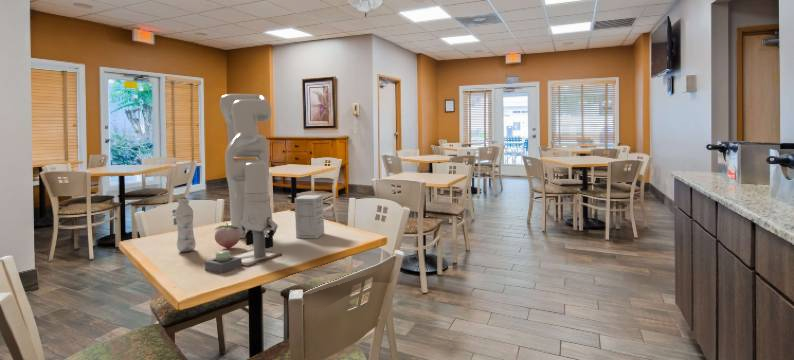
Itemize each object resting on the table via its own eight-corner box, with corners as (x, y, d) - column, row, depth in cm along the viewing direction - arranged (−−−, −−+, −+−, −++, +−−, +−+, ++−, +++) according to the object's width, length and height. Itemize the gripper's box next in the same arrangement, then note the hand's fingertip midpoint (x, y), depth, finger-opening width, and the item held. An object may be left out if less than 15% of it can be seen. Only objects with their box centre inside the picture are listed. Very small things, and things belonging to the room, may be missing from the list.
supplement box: (324, 233, 197) (323, 194, 195) (317, 238, 188) (316, 198, 186) (303, 232, 199) (302, 194, 196) (295, 238, 189) (293, 198, 187)
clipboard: (218, 261, 158) (218, 258, 158) (254, 250, 171) (253, 247, 171) (247, 267, 151) (247, 264, 151) (281, 255, 165) (281, 252, 164)
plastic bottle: (177, 254, 167) (173, 200, 165) (177, 250, 173) (173, 198, 171) (196, 252, 170) (193, 199, 168) (195, 248, 176) (192, 196, 174)
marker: (251, 257, 160) (249, 223, 159) (260, 254, 164) (258, 221, 162) (259, 258, 158) (258, 224, 157) (268, 255, 162) (266, 222, 160)
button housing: (205, 270, 148) (204, 261, 148) (225, 263, 155) (224, 254, 155) (221, 273, 144) (221, 264, 144) (241, 266, 151) (241, 258, 151)
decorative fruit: (243, 245, 180) (241, 220, 178) (239, 250, 171) (238, 224, 170) (217, 246, 178) (216, 221, 177) (213, 252, 170) (211, 225, 169)
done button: (213, 260, 149) (212, 252, 148) (224, 257, 152) (223, 249, 152) (222, 262, 146) (221, 254, 146) (233, 258, 150) (232, 251, 150)
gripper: (231, 197, 159) (233, 245, 161) (267, 200, 151) (269, 251, 153) (247, 194, 166) (250, 240, 168) (283, 197, 157) (285, 246, 159)
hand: (259, 246), depth 160 cm, fingers open, 8 cm apart
